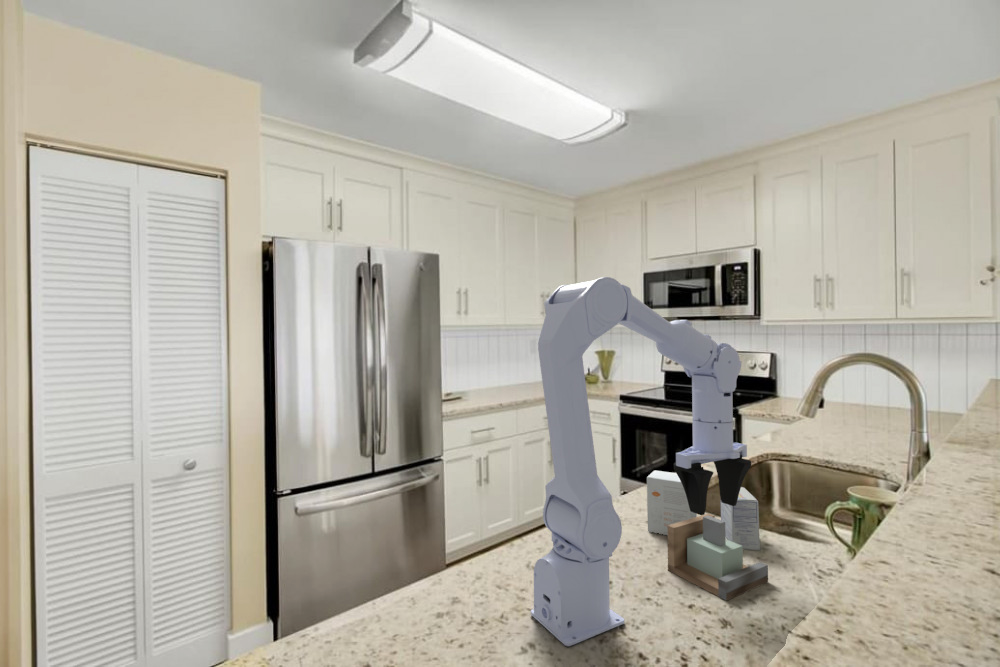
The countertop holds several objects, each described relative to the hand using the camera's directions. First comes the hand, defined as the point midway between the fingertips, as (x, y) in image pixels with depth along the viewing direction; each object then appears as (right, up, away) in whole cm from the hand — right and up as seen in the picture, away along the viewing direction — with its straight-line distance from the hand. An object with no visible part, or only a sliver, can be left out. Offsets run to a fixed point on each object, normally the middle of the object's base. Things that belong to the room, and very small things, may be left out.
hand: (713, 508), depth 72 cm
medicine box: (+10, -11, +12) cm, 19 cm away
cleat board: (0, -10, -1) cm, 10 cm away
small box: (0, -11, +16) cm, 20 cm away
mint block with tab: (0, -9, 0) cm, 9 cm away
